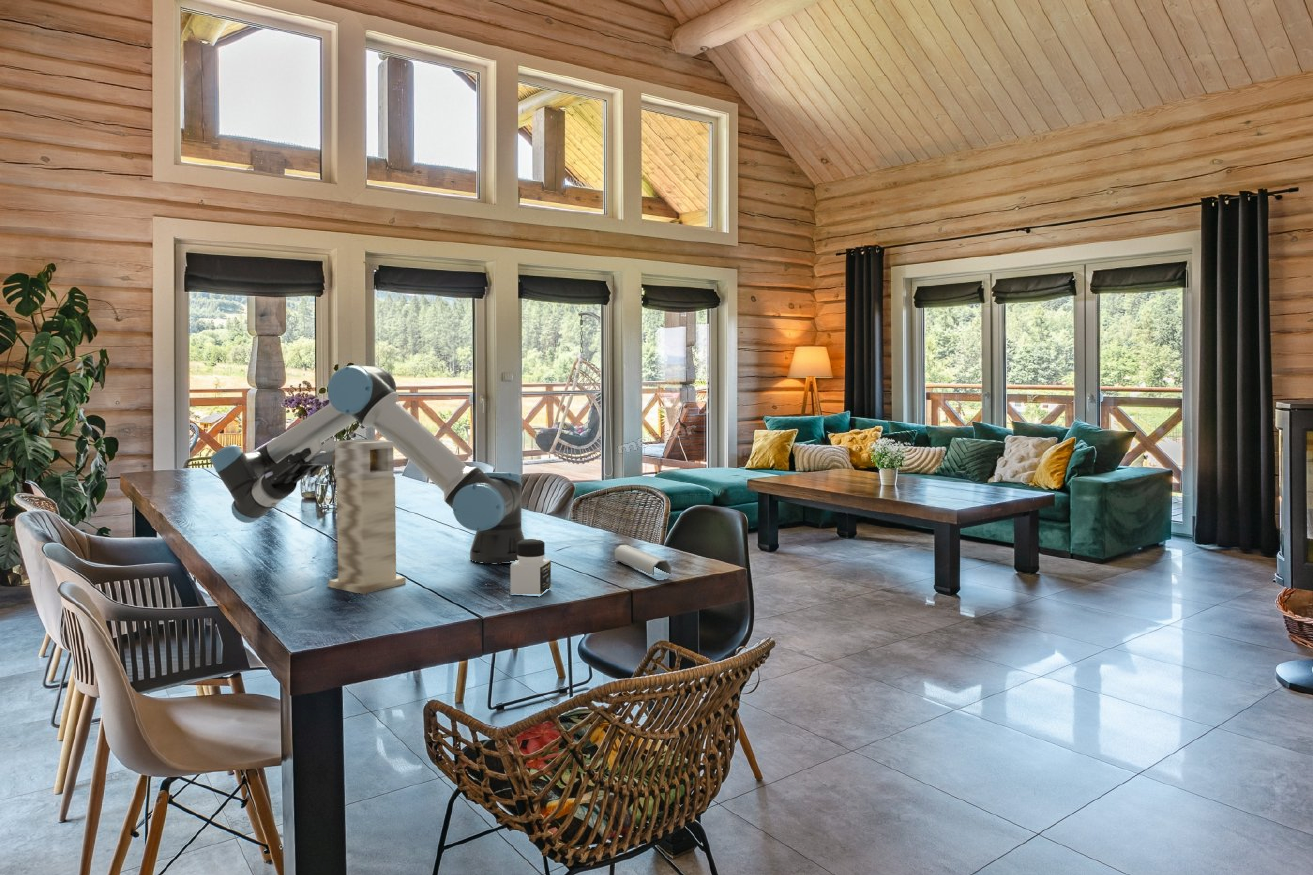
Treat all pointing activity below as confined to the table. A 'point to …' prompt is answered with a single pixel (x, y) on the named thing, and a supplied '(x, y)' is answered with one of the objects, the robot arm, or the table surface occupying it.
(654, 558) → the tube
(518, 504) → the robot arm
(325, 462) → the plug rod
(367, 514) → the bore stand
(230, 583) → the table surface
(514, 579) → the medicine bottle
